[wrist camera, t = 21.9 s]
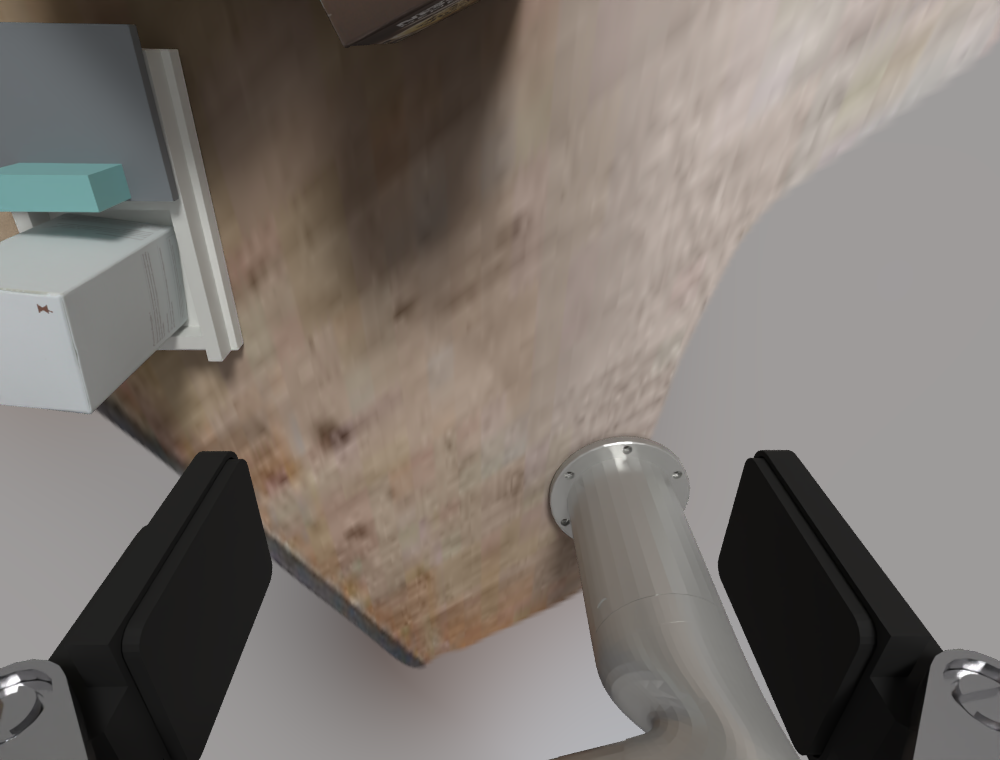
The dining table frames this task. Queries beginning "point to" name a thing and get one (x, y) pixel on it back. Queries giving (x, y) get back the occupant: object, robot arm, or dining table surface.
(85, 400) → the supplement box
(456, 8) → the coffee box
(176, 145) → the open white tray
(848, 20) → the dining table surface
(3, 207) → the gray and teal box
